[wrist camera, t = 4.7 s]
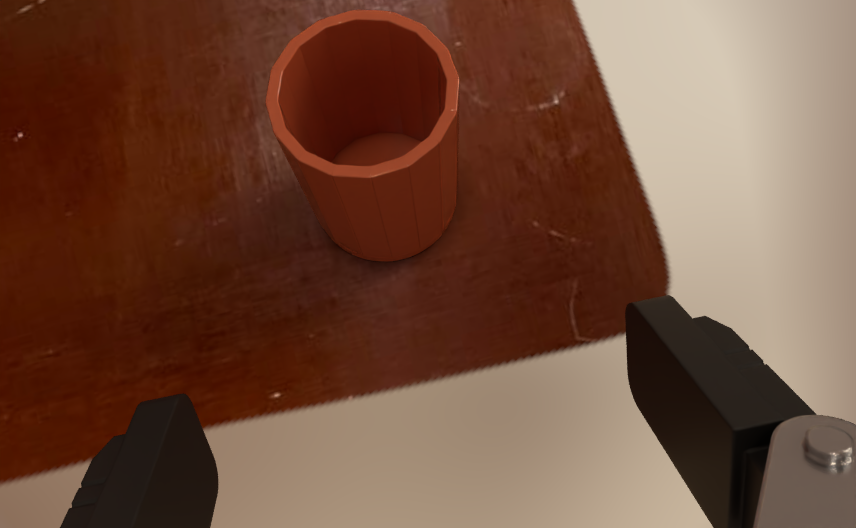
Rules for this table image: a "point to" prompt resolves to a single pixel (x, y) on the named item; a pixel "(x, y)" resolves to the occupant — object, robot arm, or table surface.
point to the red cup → (370, 130)
